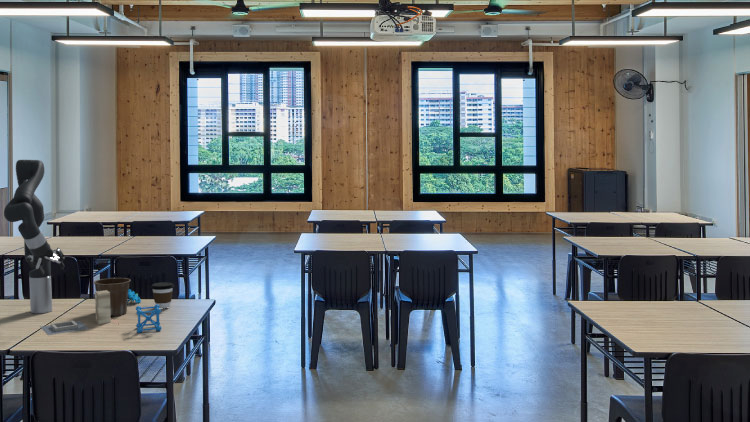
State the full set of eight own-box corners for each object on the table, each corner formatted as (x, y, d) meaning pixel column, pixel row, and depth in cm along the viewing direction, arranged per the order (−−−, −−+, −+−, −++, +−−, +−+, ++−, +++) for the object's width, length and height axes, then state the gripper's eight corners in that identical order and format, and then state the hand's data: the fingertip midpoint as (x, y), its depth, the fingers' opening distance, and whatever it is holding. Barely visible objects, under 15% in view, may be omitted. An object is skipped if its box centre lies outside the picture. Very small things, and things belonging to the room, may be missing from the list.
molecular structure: (136, 327, 272) (135, 305, 271) (159, 325, 276) (159, 303, 275) (137, 333, 263) (136, 310, 262) (161, 331, 267) (161, 308, 266)
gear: (137, 302, 311) (123, 288, 312) (128, 311, 311) (115, 296, 311) (145, 300, 322) (132, 286, 323) (137, 308, 322) (124, 294, 322)
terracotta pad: (87, 322, 279) (87, 321, 279) (110, 319, 285) (110, 318, 285) (95, 328, 270) (95, 327, 270) (119, 324, 276) (119, 323, 276)
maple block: (95, 322, 278) (95, 291, 277) (107, 320, 281) (106, 290, 280) (99, 324, 274) (98, 293, 273) (110, 322, 277) (110, 292, 276)
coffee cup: (165, 304, 315) (165, 281, 314) (179, 307, 309) (178, 283, 308) (146, 308, 306) (146, 284, 305) (160, 311, 300) (159, 287, 299)
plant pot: (110, 308, 305) (109, 276, 304) (138, 311, 301) (137, 278, 300) (86, 316, 290) (85, 282, 288) (116, 319, 286) (115, 285, 284)
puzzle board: (40, 329, 268) (39, 323, 268) (79, 323, 279) (79, 317, 278) (48, 337, 256) (48, 331, 256) (89, 330, 266) (89, 325, 266)
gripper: (55, 233, 270) (70, 261, 279) (21, 241, 268) (38, 269, 278) (51, 243, 264) (67, 271, 273) (17, 252, 262) (35, 280, 272)
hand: (53, 270), depth 276 cm, fingers open, 8 cm apart
